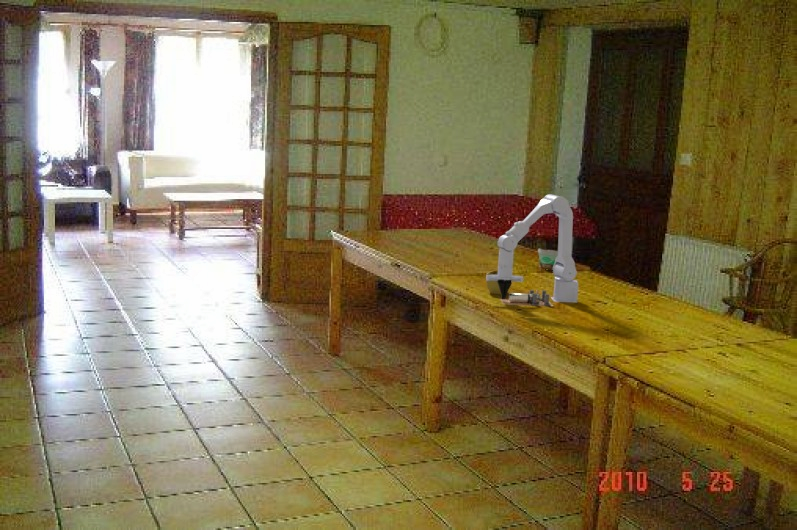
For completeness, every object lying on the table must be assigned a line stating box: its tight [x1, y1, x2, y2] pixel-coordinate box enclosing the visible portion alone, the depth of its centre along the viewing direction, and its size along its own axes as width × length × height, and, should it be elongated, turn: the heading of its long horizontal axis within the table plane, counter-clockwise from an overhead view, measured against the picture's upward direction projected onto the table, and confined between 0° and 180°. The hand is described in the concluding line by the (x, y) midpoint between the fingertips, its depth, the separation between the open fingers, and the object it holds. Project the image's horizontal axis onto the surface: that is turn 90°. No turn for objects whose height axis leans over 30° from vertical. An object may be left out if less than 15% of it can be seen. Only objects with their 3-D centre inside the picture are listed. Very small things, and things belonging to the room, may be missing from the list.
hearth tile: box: [499, 298, 554, 307], centre depth 330 cm, size 20×10×1 cm, turn 91°
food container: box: [537, 248, 558, 270], centre depth 402 cm, size 12×6×10 cm, turn 73°
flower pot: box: [485, 270, 513, 296], centre depth 345 cm, size 9×9×9 cm
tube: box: [508, 292, 541, 303], centre depth 329 cm, size 12×4×4 cm, turn 91°
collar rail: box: [528, 289, 552, 307], centre depth 330 cm, size 7×10×4 cm
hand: (503, 298), depth 329 cm, fingers closed
